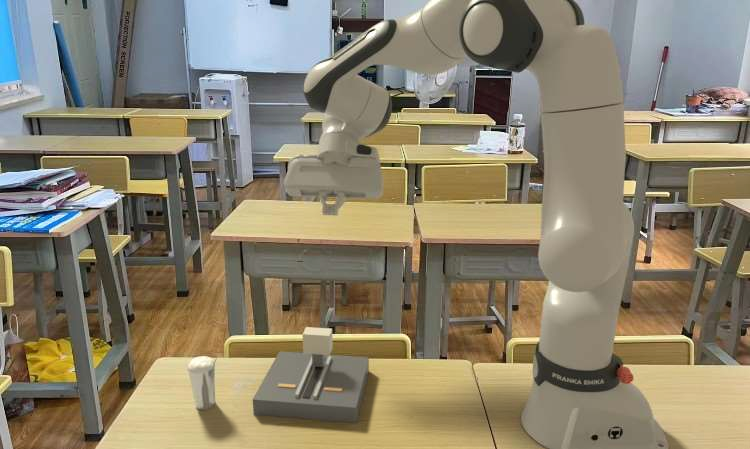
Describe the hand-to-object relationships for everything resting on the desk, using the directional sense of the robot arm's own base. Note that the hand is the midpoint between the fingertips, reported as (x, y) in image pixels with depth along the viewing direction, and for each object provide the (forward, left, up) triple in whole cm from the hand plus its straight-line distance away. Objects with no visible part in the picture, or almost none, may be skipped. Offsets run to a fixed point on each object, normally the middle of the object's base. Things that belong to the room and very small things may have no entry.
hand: (329, 214), depth 108 cm
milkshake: (+18, +23, -30) cm, 42 cm away
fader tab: (0, +13, -26) cm, 29 cm away
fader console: (0, +17, -29) cm, 34 cm away
